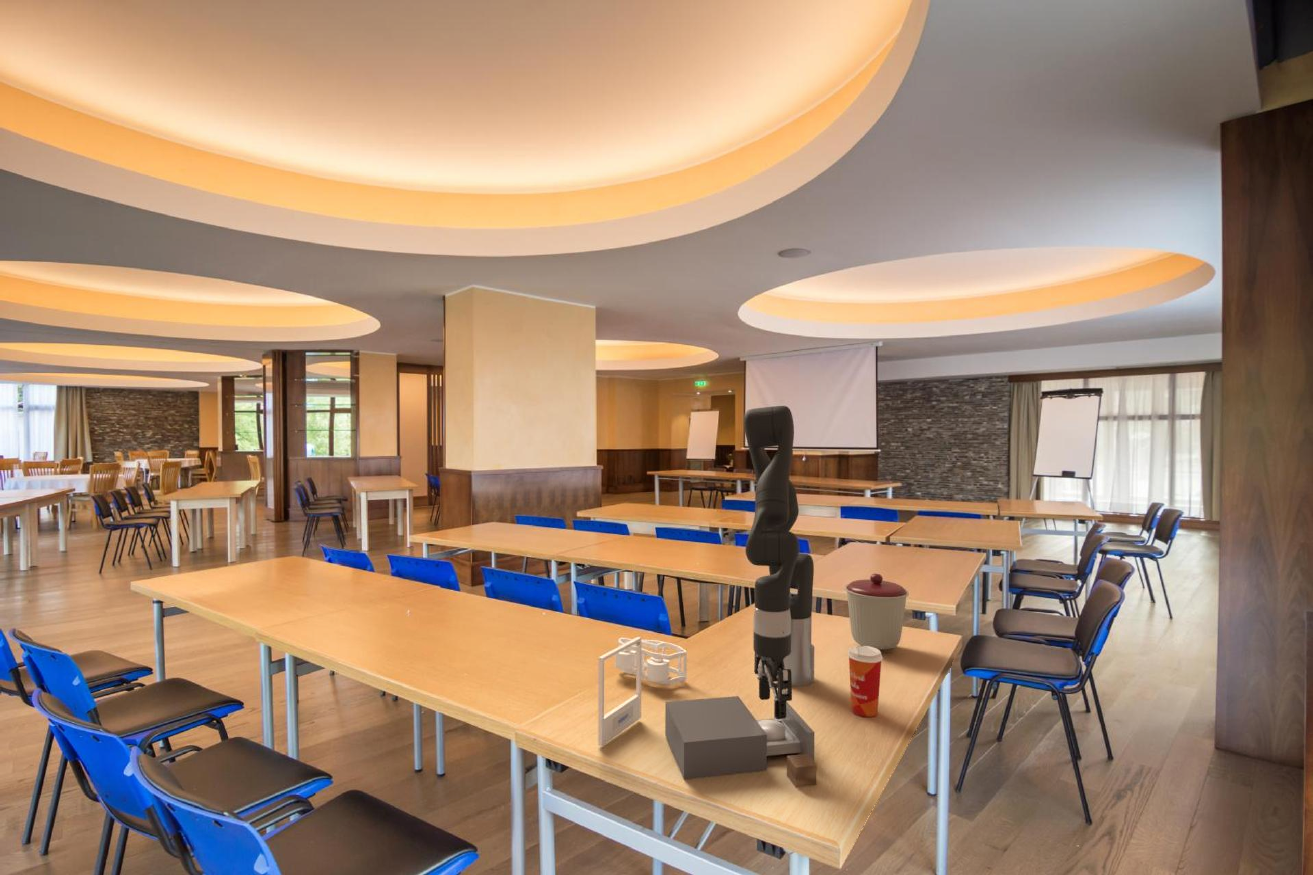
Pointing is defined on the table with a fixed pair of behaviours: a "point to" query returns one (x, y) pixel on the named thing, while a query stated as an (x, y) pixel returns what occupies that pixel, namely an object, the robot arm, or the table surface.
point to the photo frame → (626, 711)
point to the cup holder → (652, 661)
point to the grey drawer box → (714, 737)
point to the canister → (876, 612)
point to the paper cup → (864, 679)
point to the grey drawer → (793, 736)
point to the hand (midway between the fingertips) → (772, 707)
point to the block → (801, 770)
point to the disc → (773, 730)
